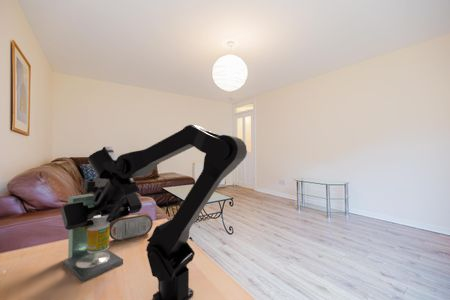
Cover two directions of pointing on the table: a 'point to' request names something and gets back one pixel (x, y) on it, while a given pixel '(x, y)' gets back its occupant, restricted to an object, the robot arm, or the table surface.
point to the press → (77, 252)
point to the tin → (130, 226)
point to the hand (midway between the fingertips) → (96, 225)
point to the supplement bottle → (98, 235)
